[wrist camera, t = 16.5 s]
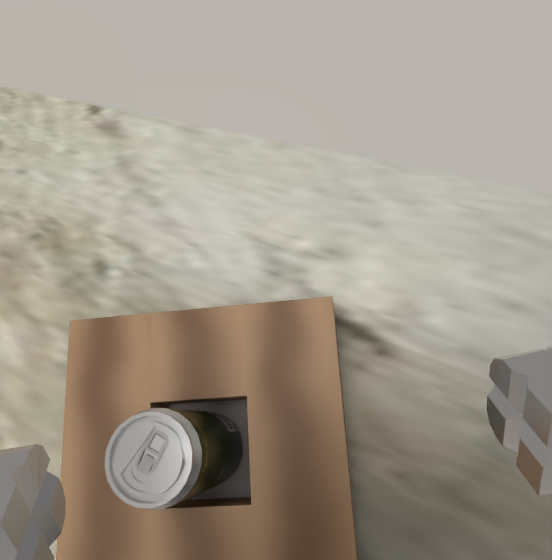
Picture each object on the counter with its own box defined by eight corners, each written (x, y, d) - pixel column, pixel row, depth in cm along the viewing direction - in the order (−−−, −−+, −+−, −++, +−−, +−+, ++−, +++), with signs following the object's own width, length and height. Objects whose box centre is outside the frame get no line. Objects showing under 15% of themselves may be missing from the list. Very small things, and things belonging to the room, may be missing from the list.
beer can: (196, 399, 40) (132, 389, 28) (256, 432, 38) (214, 436, 27) (162, 464, 39) (82, 481, 27) (222, 500, 37) (165, 533, 26)
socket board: (334, 311, 41) (332, 296, 36) (360, 591, 35) (362, 617, 30) (100, 332, 43) (69, 320, 39) (90, 596, 38) (52, 621, 33)
